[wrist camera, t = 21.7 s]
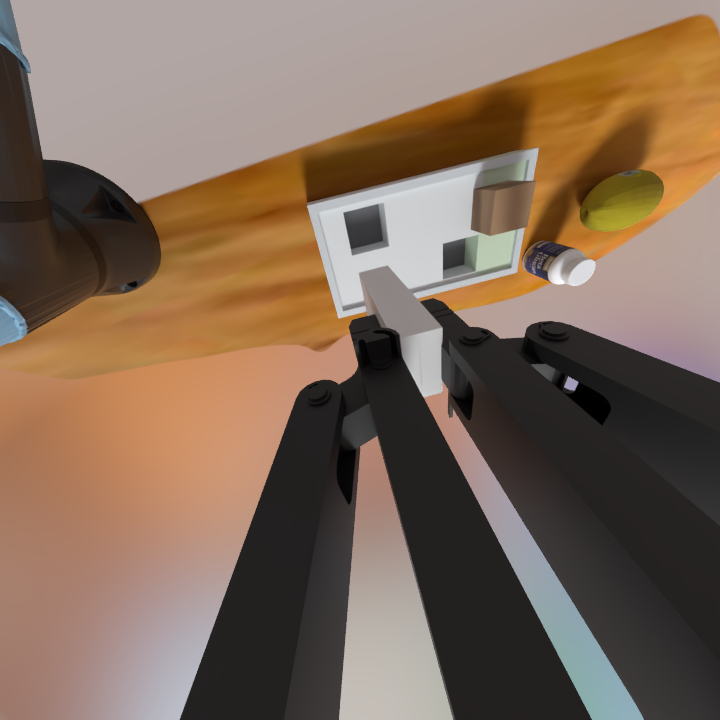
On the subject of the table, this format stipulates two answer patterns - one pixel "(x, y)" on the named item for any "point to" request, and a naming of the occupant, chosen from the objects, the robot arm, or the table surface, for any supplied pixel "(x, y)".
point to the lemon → (621, 200)
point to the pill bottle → (558, 263)
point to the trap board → (417, 231)
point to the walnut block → (502, 207)
